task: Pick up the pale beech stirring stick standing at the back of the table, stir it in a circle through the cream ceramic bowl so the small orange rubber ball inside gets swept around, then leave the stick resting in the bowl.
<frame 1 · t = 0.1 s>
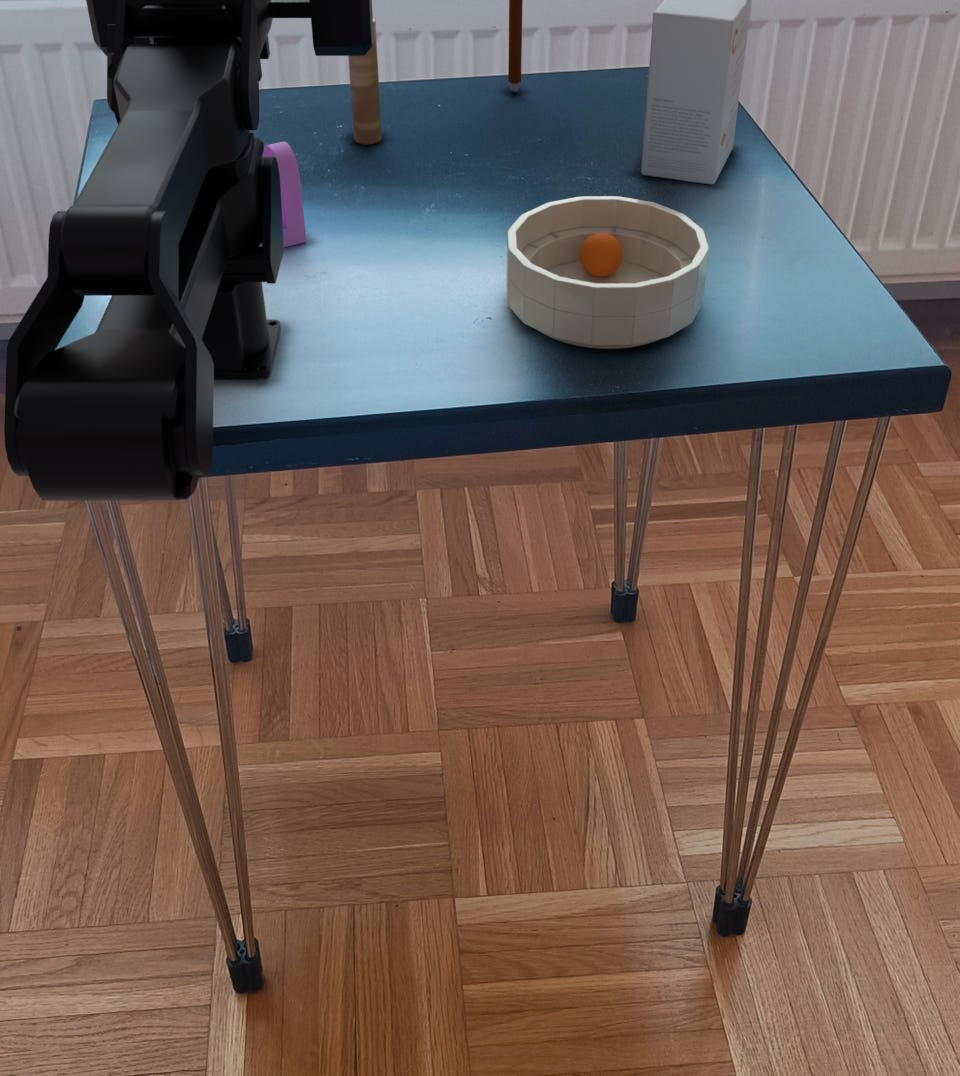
ball: (601, 254, 87), point 2 cm above the table, touching bowl
bracket: (239, 219, 97), on the table
magnifying glass: (514, 93, 117), on the table
bowl: (602, 305, 86), on the table
stirring stick: (367, 139, 108), on the table
small box: (686, 163, 104), on the table
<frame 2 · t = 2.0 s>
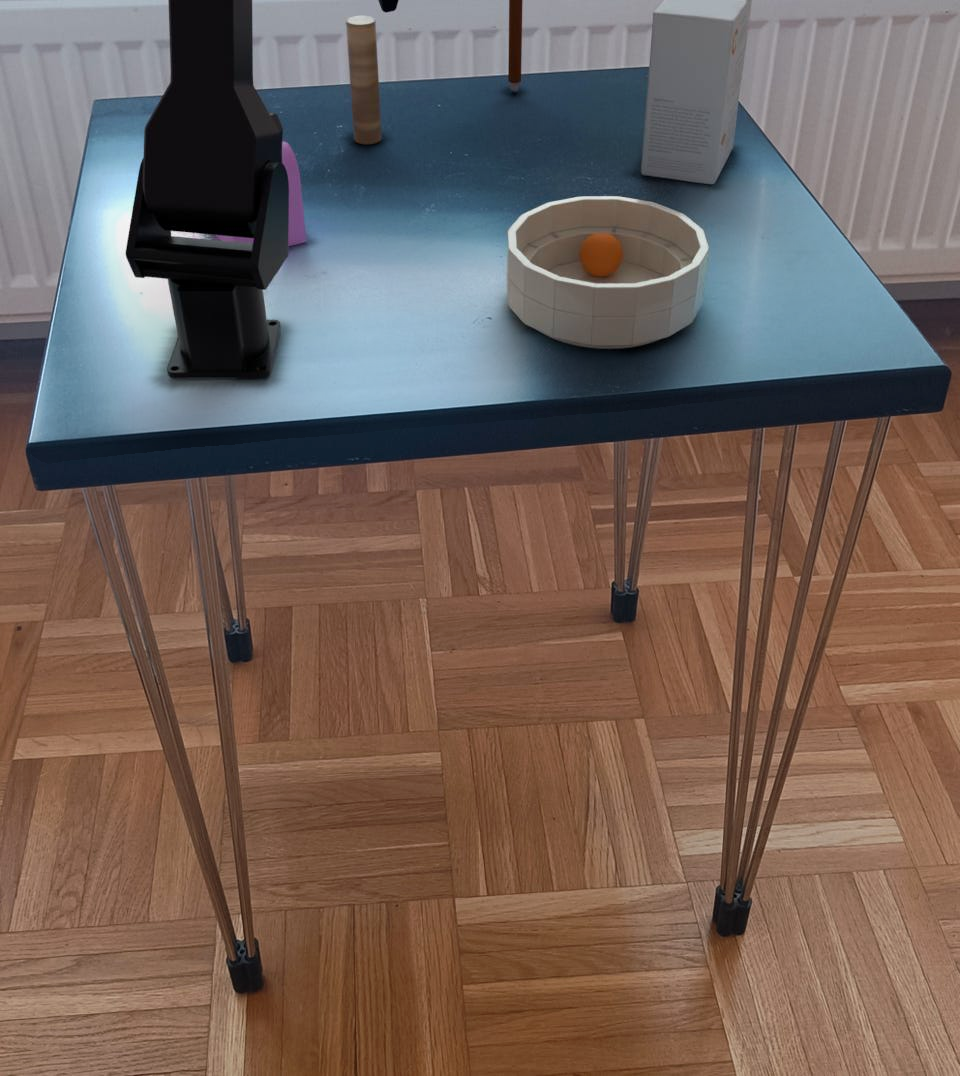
nothing on the table moved.
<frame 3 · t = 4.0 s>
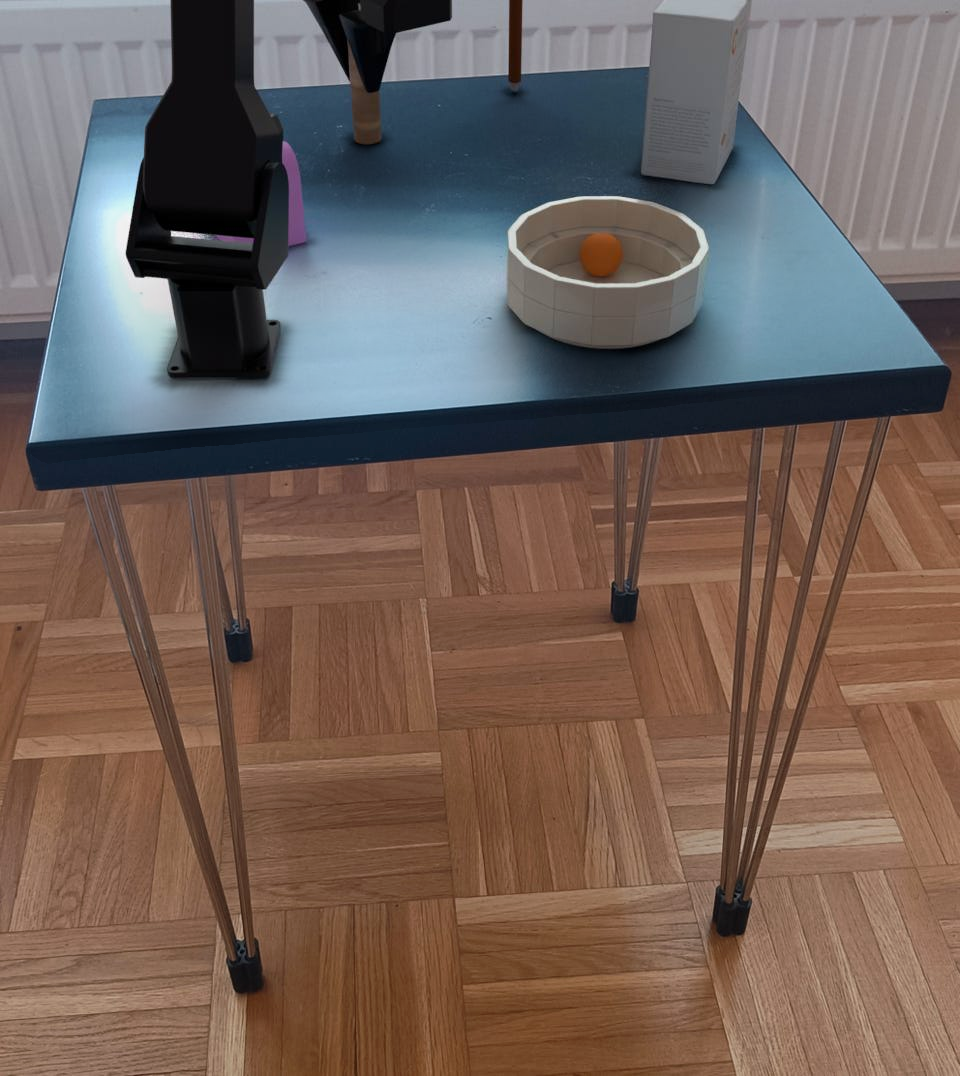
hand: (364, 87, 105), 5 cm above the table, tool pointing down, fingers closed on stirring stick, 2 cm apart
stirring stick: (367, 139, 108), on the table, touching gripper
everything else where it was.
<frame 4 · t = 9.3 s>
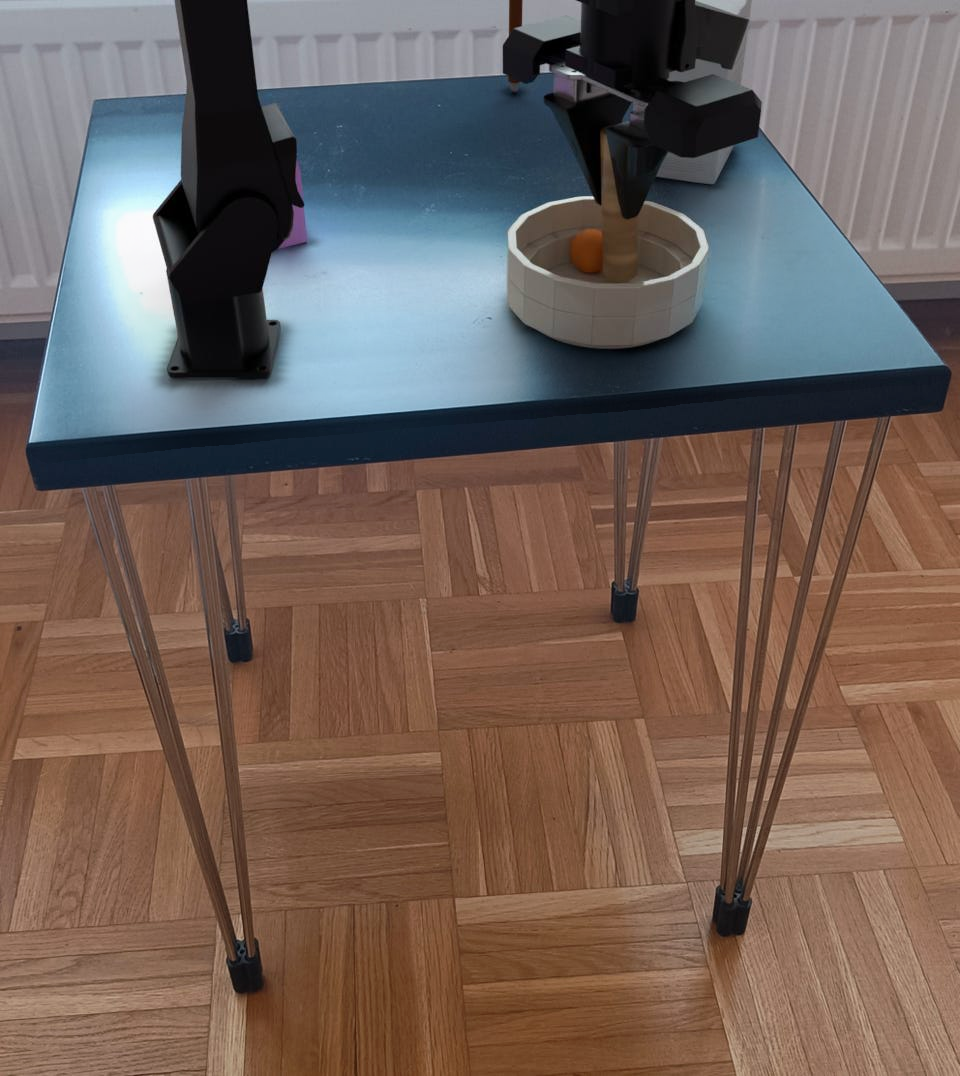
hand: (617, 210, 83), 6 cm above the table, tool pointing down, fingers closed on stirring stick, 2 cm apart
ball: (591, 250, 87), point 2 cm above the table, tilted 31°, touching bowl, stirring stick
stirring stick: (619, 274, 86), point 2 cm above the table, tilted 6°, touching ball, gripper
everything else where it was.
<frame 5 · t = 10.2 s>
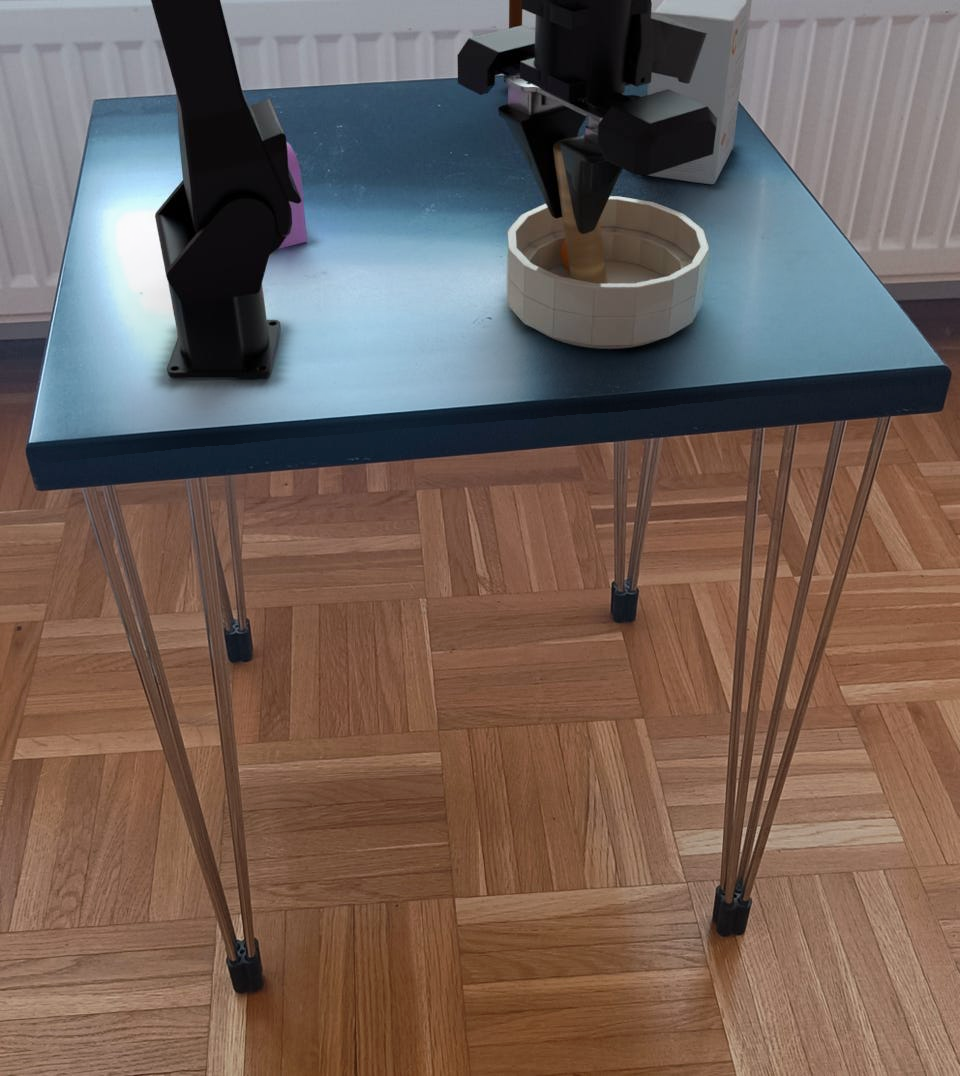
hand: (573, 224, 82), 6 cm above the table, tool pointing down, fingers closed on stirring stick, 2 cm apart
ball: (582, 252, 87), point 2 cm above the table, tilted 29°, touching bowl
stirring stick: (589, 285, 85), point 1 cm above the table, tilted 10°, touching gripper
everything else where it was.
when the fingers open (6 cm above the table, at t = 14.3 s): stirring stick stays where it is, resting on bowl.
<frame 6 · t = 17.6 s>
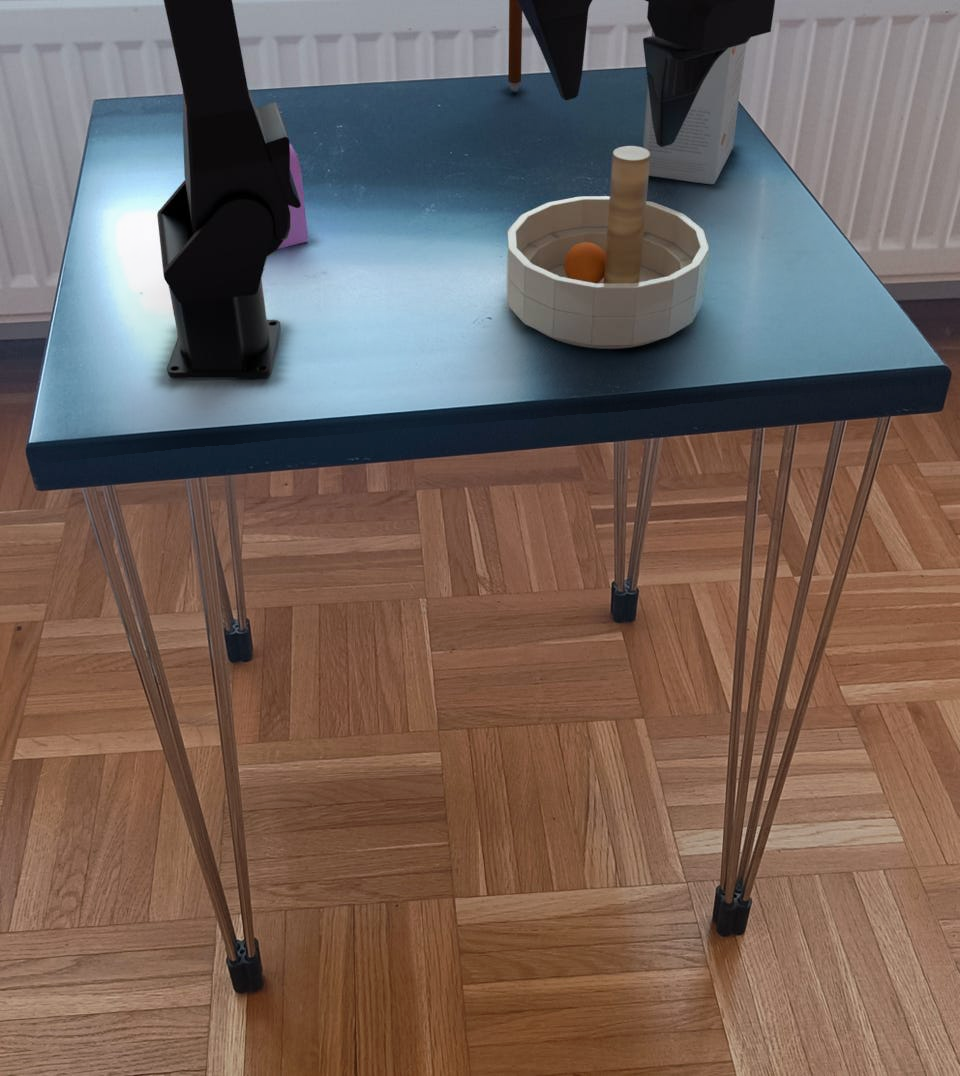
hand: (615, 120, 77), 13 cm above the table, tool pointing down, fingers open, 9 cm apart
ball: (585, 264, 86), point 2 cm above the table, tilted 39°, touching bowl
stirring stick: (620, 293, 85), point 1 cm above the table, touching bowl
everything else where it was.
at the end: stirring stick inside the target area in the bowl (1.2 cm from its centre), point 0.8 cm above the bowl's base; the gripper is holding nothing; ball moved 1.8 cm from its start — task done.
